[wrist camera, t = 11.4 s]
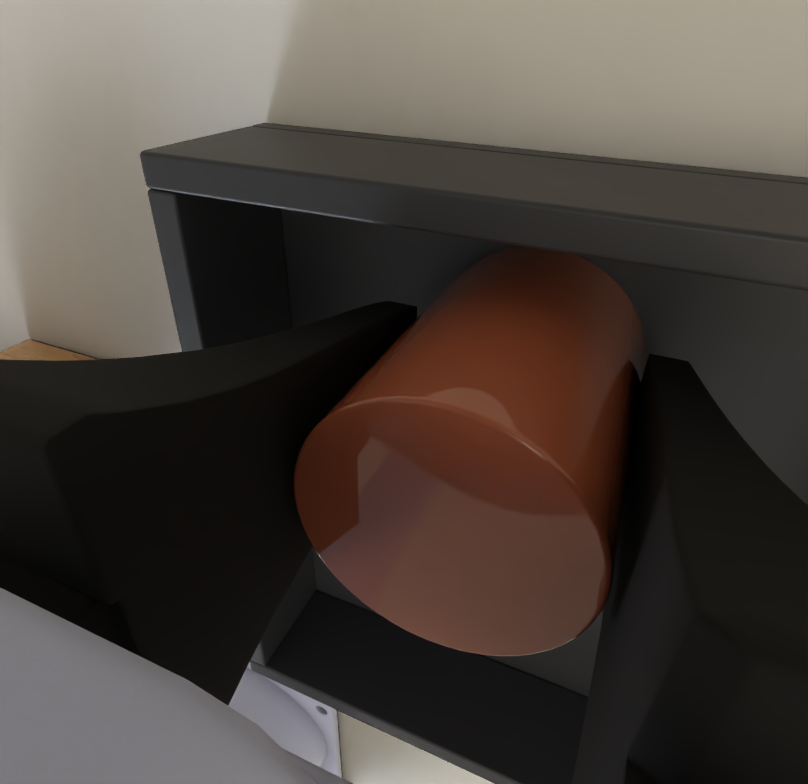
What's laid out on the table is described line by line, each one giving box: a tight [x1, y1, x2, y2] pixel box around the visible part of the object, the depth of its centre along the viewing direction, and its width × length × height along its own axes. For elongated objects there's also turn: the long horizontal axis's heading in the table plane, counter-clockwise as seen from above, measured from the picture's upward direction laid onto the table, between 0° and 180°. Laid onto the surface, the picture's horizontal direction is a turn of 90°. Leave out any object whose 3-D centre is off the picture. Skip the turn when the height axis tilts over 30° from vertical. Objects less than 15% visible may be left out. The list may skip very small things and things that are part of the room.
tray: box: [140, 123, 808, 784], centre depth 12 cm, size 15×14×4 cm
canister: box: [293, 247, 645, 656], centre depth 9 cm, size 4×4×6 cm
